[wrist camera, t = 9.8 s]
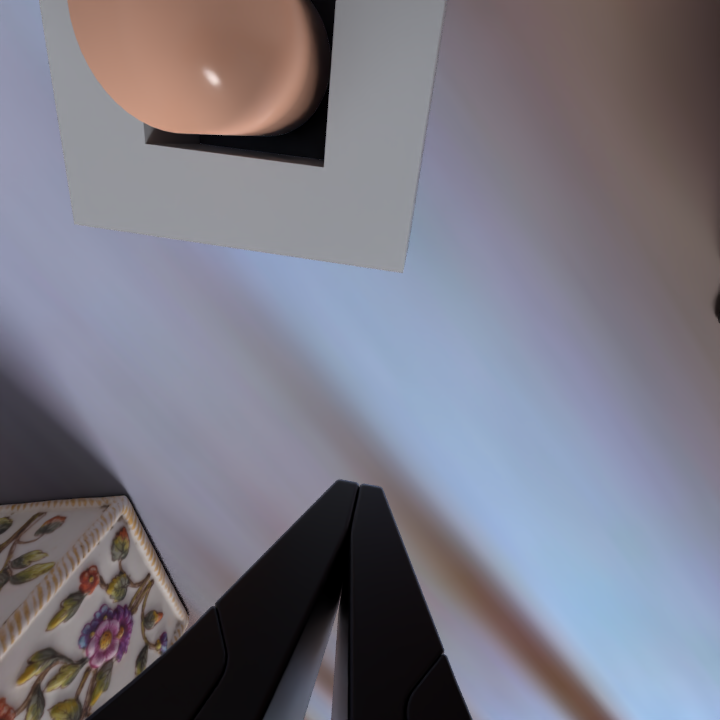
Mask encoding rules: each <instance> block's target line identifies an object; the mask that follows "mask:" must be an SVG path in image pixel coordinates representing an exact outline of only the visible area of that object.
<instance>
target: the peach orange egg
mask: <svg viewBox="0 0 720 720" xmlns="http://www.w3.org/2000/svg"><path fill="white" fill-rule="evenodd" d="M67 2H68V8H69V13H70V19H71V23H72V26H73V30H74V33H75V37H76V39H77V42H78V44H79V47H80V50H81V52H82V54H83V56H84V58H85V60H86V62H87V64H88V66H89V68H90V69H91V71H92V73H93V74H94V76H95V77H96V79H97V81H98V82H99V83H100V84H101V86H102V87H103V88H104V90H105V91H106V92H107V93H108V94H109V95H110V97H111V98H112V99H113V100H114V101H115V102H116V103H117V104H118V105H120V106H121V107H122V108H123V109H124V110H125V111H127V112H128V113H129V114H131V115H132V116H134V117H135V118H137V119H138V120H140V121H142V122H144V123H146V124H147V125H149V126H152V127H154V128H157V129H160V130H163V131H168V132H173V133H184V134H212V135H241V136H279V135H283V134H287V133H289V132H291V131H294V130H295V129H297V128H299V127H300V126H302V125H303V124H304V123H305V122H306V121H308V120H309V118H310V117H311V116H312V115H313V114H314V113H315V111H316V110H317V108H318V107H319V105H320V103H321V101H322V99H323V97H324V94H325V92H326V89H327V85H328V81H329V76H330V68H331V55H330V45H329V40H328V35H327V32H326V29H325V26H324V23H323V21H322V19H321V17H320V15H319V13H318V11H317V10H316V8H315V6H314V5H313V3H312V2H311V1H310V0H67Z"/></svg>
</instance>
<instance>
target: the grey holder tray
mask: <svg viewBox="0 0 720 720" xmlns="http://www.w3.org/2000/svg"><path fill="white" fill-rule="evenodd" d="M39 3H40V9H41V16H42V22H43V28H44V35H45V41H46V47H47V54H48V60H49V66H50V73H51V79H52V85H53V92H54V98H55V104H56V111H57V117H58V123H59V130H60V136H61V142H62V149H63V155H64V161H65V168H66V174H67V180H68V187H69V193H70V199H71V206H72V212H73V218H74V224H75V225H82V226H89V227H95V228H102V229H109V230H116V231H122V232H129V233H136V234H143V235H149V236H156V237H163V238H170V239H176V240H183V241H190V242H197V243H203V244H210V245H217V246H224V247H230V248H237V249H244V250H251V251H257V252H264V253H271V254H278V255H284V256H291V257H298V258H305V259H311V260H318V261H325V262H332V263H338V264H345V265H352V266H359V267H365V268H372V269H379V270H386V271H392V272H399V273H403V269H404V265H405V260H406V256H407V251H408V246H409V239H410V233H411V227H412V220H413V214H414V208H415V201H416V195H417V189H418V182H419V176H420V170H421V163H422V157H423V151H424V144H425V138H426V132H427V125H428V119H429V113H430V107H431V100H432V94H433V88H434V81H435V75H436V69H437V62H438V56H439V50H440V43H441V37H442V31H443V24H444V18H445V12H446V5H447V0H336V5H335V19H334V33H333V47H332V61H331V74H330V88H329V102H328V116H327V130H326V144H325V158H324V160H322V159H314V158H307V157H299V156H292V155H284V154H276V153H269V152H261V151H253V150H246V149H238V148H230V147H223V146H215V145H208V144H200V134H184V133H173V132H168V131H163V130H160V129H157V128H154V127H152V126H149V125H147V124H146V123H144V122H142V121H140V120H138V119H137V118H135V117H134V116H132V115H131V114H129V113H128V112H127V111H125V110H124V109H123V108H122V107H121V106H120V105H118V104H117V103H116V102H115V101H114V100H113V99H112V98H111V97H110V95H109V94H108V93H107V92H106V91H105V90H104V88H103V87H102V86H101V84H100V83H99V82H98V81H97V79H96V77H95V76H94V74H93V73H92V71H91V69H90V68H89V66H88V64H87V62H86V60H85V58H84V56H83V54H82V52H81V50H80V47H79V44H78V42H77V39H76V37H75V33H74V30H73V26H72V23H71V19H70V13H69V8H68V2H67V0H39Z"/></svg>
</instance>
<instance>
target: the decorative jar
mask: <svg viewBox="0 0 720 720" xmlns="http://www.w3.org/2000/svg"><path fill="white" fill-rule="evenodd" d="M188 622H189V617H188V615H187V612H186V610H185V608H184V606H183V605H182V603H181V601H180V600H179V597H178V596H177V593H176V591H175V589H174V587H173V586H172V584H171V582H170V580H169V578H168V576H167V574H166V572H165V570H164V568H163V566H162V564H161V562H160V560H159V558H158V556H157V554H156V552H155V550H154V548H153V546H152V544H151V542H150V540H149V539H148V537H147V534H146V532H145V531H144V529H143V527H142V525H141V523H140V521H139V519H138V517H137V515H136V513H135V511H134V509H133V507H132V505H131V503H130V501H129V499H128V498H127V497H126V496H124V495H122V496H112V497H101V498H100V497H97V498H78V499H66V500H50V501H42V502H32V503H23V504H8V505H0V720H85V719H86V718H87V717H88V716H90V715H91V714H92V713H93V712H94V711H96V710H97V709H98V708H99V707H100V706H102V705H103V704H104V703H105V702H107V701H108V700H109V699H110V698H111V697H113V696H114V695H115V694H116V693H117V692H119V691H120V690H121V689H122V688H123V687H125V686H126V685H127V684H128V683H129V682H131V681H132V680H133V679H134V678H135V677H136V676H138V675H139V674H140V673H141V672H142V671H143V670H145V669H146V668H147V667H148V666H149V665H150V664H152V663H153V662H154V661H155V660H156V659H157V658H159V657H160V656H161V655H162V654H163V653H164V652H165V651H166V650H167V649H169V648H170V647H171V646H172V645H173V644H174V643H175V642H176V641H177V640H178V639H179V638H180V637H181V636H182V635H183V633H184V631H185V629H186V627H187V625H188Z"/></svg>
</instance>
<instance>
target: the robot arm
mask: <svg viewBox="0 0 720 720" xmlns="http://www.w3.org/2000/svg"><path fill="white" fill-rule="evenodd" d="M718 321H719V323H720V313H719V316H718ZM340 596H341V598H340ZM339 601H340V605H339ZM338 605H339V614H338V626H337V641H336V656H335V671H334V686H333V701H332V716H331V720H472V717H471V715H470V712H469V710H468V708H467V705H466V703H465V700H464V698H463V696H462V693H461V691H460V688H459V686H458V684H457V681H456V678H455V676H454V673H453V671H452V668H451V665H450V663H449V660H448V658H447V656H446V655H444V648H443V645H442V643H441V640H440V637H439V635H438V632H437V629H436V627H435V624H434V622H433V619H432V616H431V614H430V611H429V608H428V606H427V603H426V601H425V598H424V595H423V593H422V590H421V588H420V585H419V582H418V580H417V577H416V574H415V572H414V569H413V567H412V564H411V561H410V559H409V556H408V553H407V551H406V548H405V546H404V543H403V540H402V538H401V535H400V533H399V530H398V527H397V525H396V522H395V519H394V517H393V514H392V512H391V509H390V506H389V504H388V501H387V499H386V496H385V493H384V491H383V489H382V488H381V487H379V486H374V485H369V484H361V485H360V487H359V484H358V483H357V482H352V481H347V480H341V479H340V480H337V481H336V482H335V483H334V484H333V485H332V486H331V487H330V488H329V489H328V490H327V491H326V492H325V493H324V494H323V495H322V496H321V497H320V498H319V499H318V500H317V501H316V502H315V503H314V504H313V505H312V506H311V507H310V508H309V509H308V510H307V511H306V512H305V513H304V514H303V515H302V516H301V517H300V518H299V519H298V520H297V521H296V522H295V523H294V524H293V525H292V526H291V527H290V528H289V529H288V530H287V531H286V532H285V533H284V534H283V535H282V536H281V537H280V538H279V539H278V540H277V541H276V542H275V543H274V544H273V545H272V546H271V547H270V548H269V549H268V550H267V551H266V552H265V553H264V554H263V555H262V556H261V557H260V558H259V559H258V560H257V561H256V562H255V563H254V564H253V565H252V566H251V567H250V568H249V569H248V570H247V571H246V572H245V573H244V574H243V575H242V576H241V577H240V578H239V579H238V581H237V582H236V583H235V584H234V585H233V586H232V587H231V588H230V589H229V590H228V591H227V592H226V593H225V594H224V595H223V596H222V597H221V598H220V599H219V600H218V601H217V602H216V603H215V606H212V607H210V608H209V609H208V610H207V611H206V612H205V613H204V615H203V616H202V617H201V618H200V619H199V620H198V621H197V622H196V623H195V624H194V625H193V626H192V627H191V628H190V629H188V630H187V631H186V632H185V633H184V634H183V635H182V636H181V637H180V638H179V639H178V640H177V641H176V642H175V643H174V644H173V645H172V646H171V647H170V648H169V649H167V650H166V651H165V652H164V653H163V654H162V655H161V656H160V657H159V658H157V659H156V660H155V661H154V662H153V663H152V664H150V665H149V666H148V667H147V668H146V669H145V670H143V671H142V672H141V673H140V674H139V675H138V676H136V677H135V678H134V679H133V680H132V681H131V682H129V683H128V684H127V685H126V686H125V687H123V688H122V689H121V690H120V691H119V692H117V693H116V694H115V695H114V696H113V697H111V698H110V699H109V700H108V701H107V702H105V703H104V704H103V705H102V706H100V707H99V708H98V709H97V710H96V711H94V712H93V713H92V714H91V715H90V716H88V717H87V718H86V719H85V720H304V717H305V713H306V710H307V707H308V704H309V700H310V697H311V694H312V691H313V688H314V684H315V681H316V678H317V675H318V672H319V668H320V665H321V662H322V659H323V655H324V652H325V649H326V646H327V643H328V639H329V636H330V633H331V630H332V626H333V623H334V620H335V616H336V613H337V609H338Z"/></svg>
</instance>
